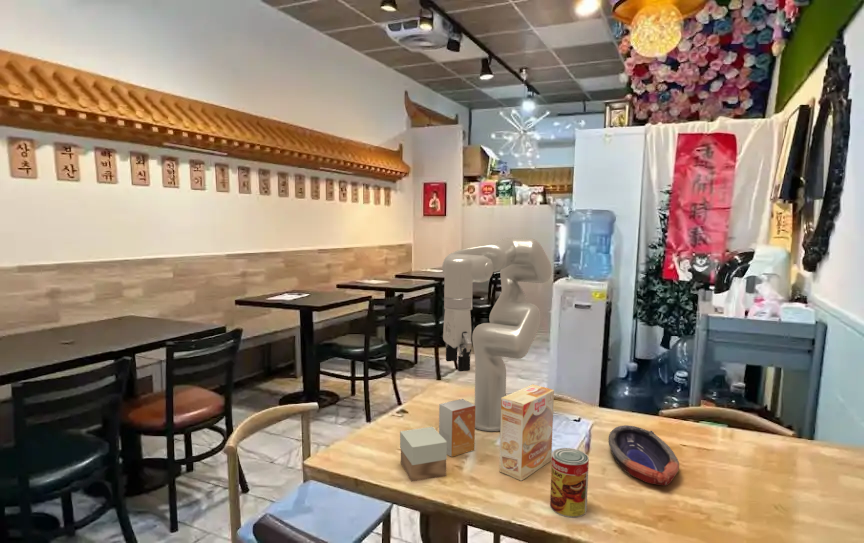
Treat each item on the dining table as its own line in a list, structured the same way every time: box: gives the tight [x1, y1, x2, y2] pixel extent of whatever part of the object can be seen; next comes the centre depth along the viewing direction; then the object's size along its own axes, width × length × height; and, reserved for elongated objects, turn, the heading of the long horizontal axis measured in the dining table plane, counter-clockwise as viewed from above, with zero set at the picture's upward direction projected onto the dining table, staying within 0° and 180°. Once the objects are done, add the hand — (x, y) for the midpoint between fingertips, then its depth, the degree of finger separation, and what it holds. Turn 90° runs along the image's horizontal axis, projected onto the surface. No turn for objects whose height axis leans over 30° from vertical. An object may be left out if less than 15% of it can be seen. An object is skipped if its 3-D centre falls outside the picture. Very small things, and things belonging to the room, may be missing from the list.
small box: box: [438, 398, 476, 458], centre depth 143 cm, size 8×6×13 cm
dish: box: [608, 424, 680, 486], centre depth 137 cm, size 16×31×5 cm, turn 172°
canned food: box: [549, 447, 590, 518], centre depth 115 cm, size 8×8×12 cm
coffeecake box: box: [498, 383, 555, 481], centre depth 134 cm, size 15×7×20 cm, turn 137°
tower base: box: [400, 449, 447, 482], centre depth 133 cm, size 9×10×4 cm
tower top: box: [399, 426, 448, 465], centre depth 132 cm, size 9×10×4 cm
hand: (457, 365), depth 141 cm, fingers open, 9 cm apart
